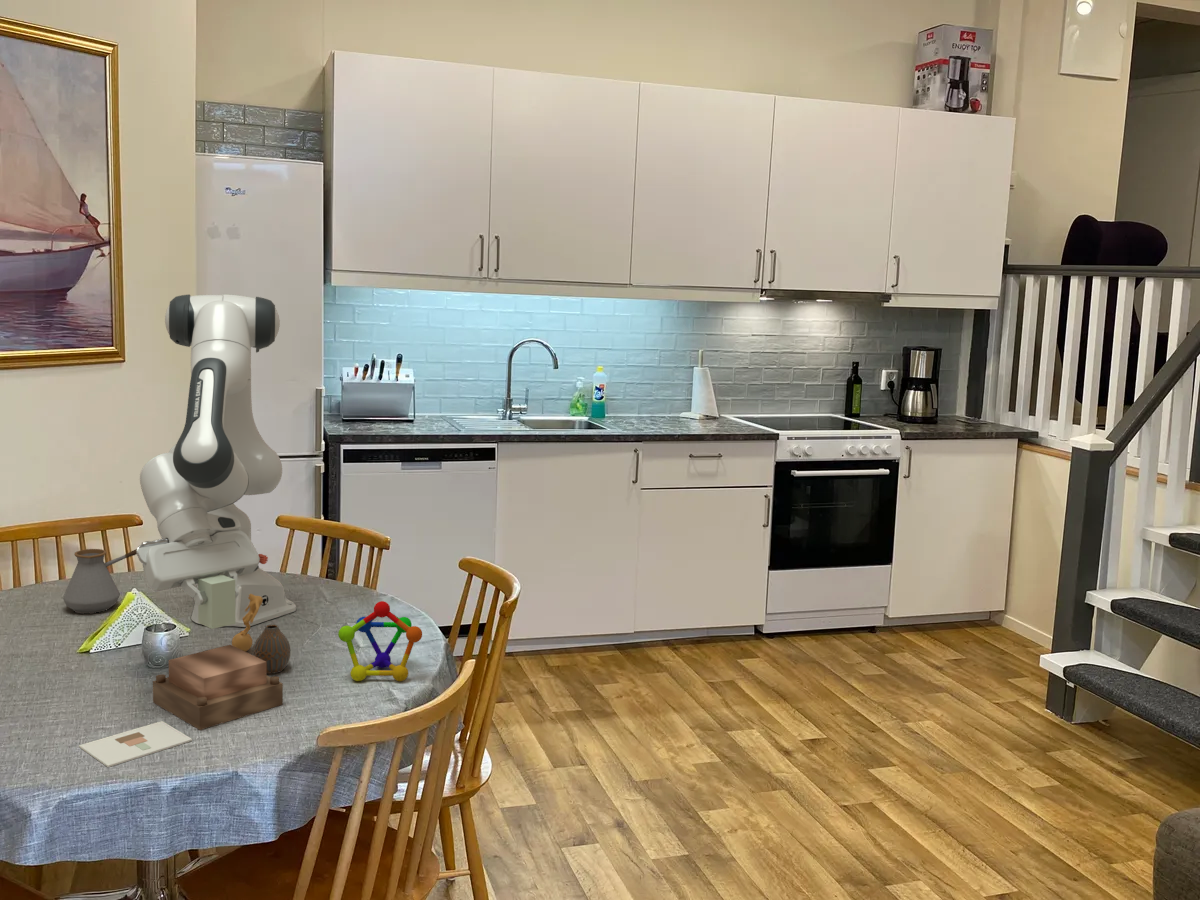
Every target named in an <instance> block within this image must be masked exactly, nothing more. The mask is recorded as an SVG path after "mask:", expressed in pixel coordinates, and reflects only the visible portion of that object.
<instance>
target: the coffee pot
mask: <svg viewBox="0 0 1200 900" xmlns="http://www.w3.org/2000/svg"><path fill="white" fill-rule="evenodd" d="M136 550H137V548H136V549H134V550H131V551H129V552H127V553H125V554H123V555H120V556H118V557H116V558H114V559H112V560H109V561H107V562H105V561H104V558H105V555H106V554H107V551H106V550H105V549H100V548H90V549H89V548H87V549H86V548H85V549H81V550H78V551H76V552H74V556H75V557H76V559H77V564H76V567H75V569H74V571H73V574H72V576H71V578H70V580H69V583H68V585H67V588H66V590H65V592H64V595H63V597H62V599H63V603H64V604H65V605H66V606H67V607H68V608H69V609H71V610H72V611H73V612H74V611H75V612H74V613H77V614H84V613H90V614H97V613H96V612H99V613H101V612H100V611H103V612H105V611H104V610H106V609H109V608H110V607H111V608H112V607H113V606H114V605H115V604H116V603H117V602H118V600H119V599H120V596H121V593H120V591H119V589H118V587H117V585H116V583H115V581H114V578H113V577H112V576H111V573H110V571H109V569H108V567H109V566H111V565H114V564H116V563H118V562H120V561H123V560H125V559H128V558H130V557H133V556H137V553H136ZM111 608H110V609H111ZM110 609H109V610H110ZM106 611H107V610H106ZM94 612H95V613H94Z"/></svg>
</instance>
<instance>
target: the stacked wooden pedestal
mask: <svg viewBox="0 0 1200 900" xmlns="http://www.w3.org/2000/svg"><path fill="white" fill-rule="evenodd" d="M267 674H268V673H267V672H266V661H264V660H262V659H260V658H258V657H255V656H253V654H251V653H249V652H247V651H246V652H245V651H243V650H241V649H239V648H237V647H234V646H232V644H227V645H224V646H223V645H222V646H219V647H215V648H211V649H207V650H203V651H199V652H194V653H191V654H186V655H183V656H179V657H175V658H171V659H169V660H168V676H167V677H166V674H161V673H160V674H157V675H156V676H155V680H152V703H153V704H155V705H156V706H158V707H160V709H163V710H164V711H166V712H168V713H170V714H172V715H174V716H175V717H177V718H179V719H180V720H182V721H184V722H185V723H187V724H189V725H190V726H192V727H193V728H195V729H197V730H199V731H201V730H204V729H208V728H211V727H215V726H219V725H221V724H224V723H227V722H231V721H234V720H238V719H239V718H243V717H247V716H249V715H253V714H257V713H259V712H263V711H266V710H270V709H273V708H275V707H279V706H283V704H284V698H283V697H284V694H283V693H284V689H283V688H284V684H283V683H282V682H281V681H280V676H277V675H274V676H269V675H267Z"/></svg>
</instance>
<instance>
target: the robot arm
mask: <svg viewBox="0 0 1200 900" xmlns="http://www.w3.org/2000/svg"><path fill="white" fill-rule="evenodd" d="M280 321H281V320H280V316H279V312H278V310H277V309H276V304H275V303H274V302H273V301H272V300H270V299H268V298H264V297H261V296H260V297H259V296H255V297H251V296H247V295H246V296H245V295H241V294H240V295H239V294H227V293H223V294H200V295H199V294H198V295H191V294H182V295H177V296H175V297H173V298H172V299H171V300H170V301H169V305H168V307H167V309H166V311H165V315H164V323H165V324H164V325H165V328H166V331H167V333H168V335H169V339H170V340H171V341H172V342H173V343H175V344H177V345H179V346H183V347H186V348H190V382H189V389H188V398H187V405H186V406H187V408H186V417H185V424H184V428H183V429H182V433H180V436H179V438H178V439H177V442H176V443H175V444H174V445H173V446H172V447H171V448H170V450H169V451H168V452H163V453H161V454H158V455H156V456H154V457H153V458H151V459H149V460H148V461H147V462H146V463H145V464H144V465H143V467H142V469H141V470H140V474H139V484H140V488H141V491H142V496H143V498H144V500H145V503H146V506H147V508H148V510H149V513H150V514H151V515H152V516H153V517H154V518H155V521H156V524H157V525H156V527H157V531H158V533H159V536H160V537H161V538H159V539H154V540H146V541H143V542H141V544H140V545H138V546H137V548H136V549H137V550H136V553H137V554H136V556H137V557H138V560H139V562H140V563H141V564H142V568H143V569H142V570H143V574H144V577H145V581H146V583H147V586H148V588H149V589H151V590H152V591H153V592H163V591H168V590H171V589H172V590H173V589H176V588H177V589H178V588H181V589H182V591H183V592H184V593H185V595H188V596H189V597H190V598H192V599H193V601H194V605H193V609H192V613H191V617H190V619H191V620H192V621H193V623H196V624H198V625H201V624H200V623H198V605H203V604H206V602H207V601H208V597H207V596H206V593H205V591H203V592H200V591H199V590H198V579H199V578H205V577H210V576H215V575H220V574H222V575H225V576H227V577H230V578H232V579H235V624H232V625H227V626H226V627H239V628H241V627H242V628H246V625H244V622H243V620H242V619H243V617H244V616H245V615H246V614H247V613H248V612H249V611H250V607H249V608H248V610H247V611H246V612H245V609H246V608H247V607H248V605H249V602H250V599H248V597H249V594H253V595H255V596H260V597H262V599H263V601H262V604H261V606H260V607H259V610H258V612H257V614H256V616H255V617H254V620H253V622H250V621H251V620H250V621H249V622H250V623H251V624H250V623H249V624H250V627H252V626H255V625H258V624H260V623H263V622H264V623H265V622H266V621H271V620H273V619H277V618H279V617H282V616H285V615H288V614H292V613H293V612H297V605H296V603H294V602H293V601H292V600H289V599H288V598H287V597H286V593H285V588H284V585H283V584H282V583H281V580H280V581H279V580H278V579H277V578H275V577H274V576H272V575H271V574H269V573H268V572H266V571H265V570H264V569H262V568H260V567H259V563H260V564H261V565H265V564H267V563H268V560H269V557H268V556H267V555H266V554H263V553H258V550H257V548H256V547H255V545H254V543H253V542H252V523H251V519H250V518H249V517H250V516H248V515H247V513H246V512H244V511H243V510H242V509H240V508H239V507H238V506H237V505H235V503H237V502H238V501H239V500H241V499H242V498H243V497H244V496H255V495H263V494H264V495H266V494H270V493H272V492H273V490H275V489H276V488H277V487H278V485H279V483H280V482H281V479H282V474H283V464H282V462H281V461H282V460H281V458H280V456H279V455H278V453H277V452H276V451H275V450H274V449H273V448H271V447H270V446H269V445H268V443H266V441H265V440H264V439H263V437H262V435H261V434H260V432H259V429H258V428H257V424H256V422H255V419H254V415H253V414H254V413H253V404H252V367H251V366H252V348H254V349H255V353H256V354H257V353H259V352H260V350H262V349H266V348H267V347H270V346H271V345H272V344H273V343H274V342H275V340H276V338H277V336H278V334H279V331H280V326H281V325H280ZM195 585H196V586H195Z"/></svg>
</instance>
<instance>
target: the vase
mask: <svg viewBox="0 0 1200 900" xmlns="http://www.w3.org/2000/svg"><path fill="white" fill-rule="evenodd" d="M252 655H253V656H255V657H258V658H260V659H262V660H264V661H266V672H267V674H276V673H281V671H283V670H284V669H285V668H286V667H287V665H288V664H289V662H290V658H291V645H290V642H289V640H288V638H287V636H286V635H285V634H284V633H283V632H282V631H281V629H280V628H279V625H277V624H268V625H266V626H265V627H264V629H263V631H262V632H261V634H260V635H258V637H257V639H256V641H255V642H254V646H253V652H252Z"/></svg>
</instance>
